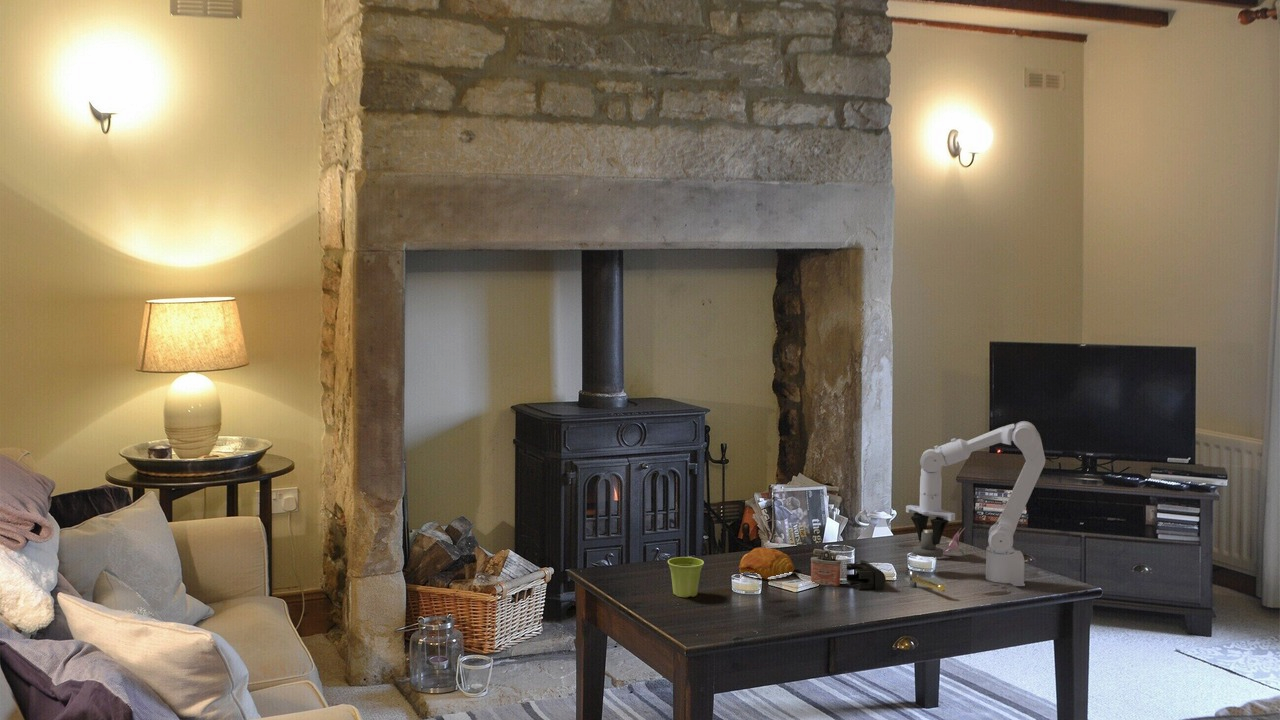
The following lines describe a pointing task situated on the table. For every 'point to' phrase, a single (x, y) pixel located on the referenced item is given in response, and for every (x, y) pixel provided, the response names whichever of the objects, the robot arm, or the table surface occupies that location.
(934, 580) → the panel
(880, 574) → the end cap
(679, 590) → the plant pot
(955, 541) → the lily
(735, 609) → the table surface
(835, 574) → the lighter
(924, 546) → the plug
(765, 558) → the croissant
